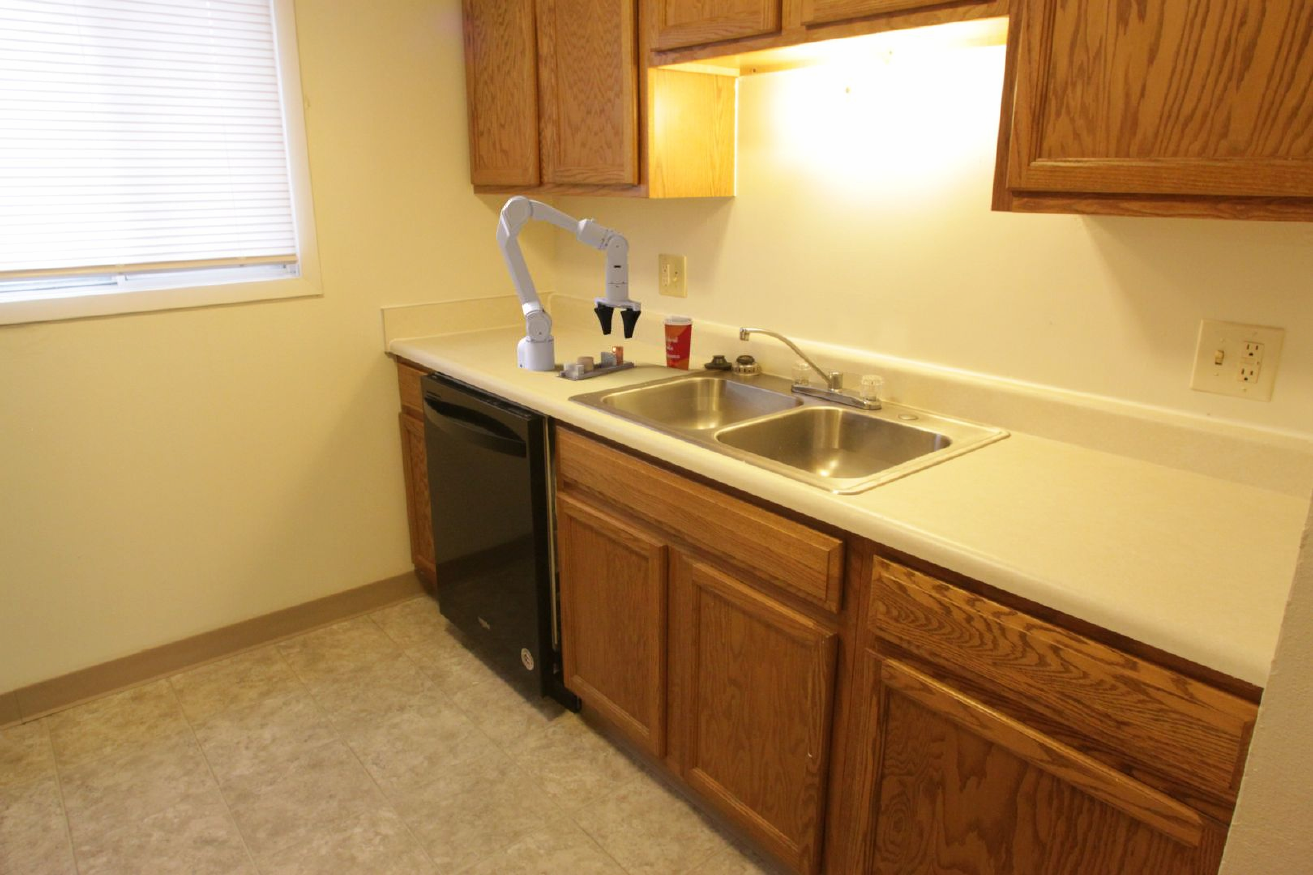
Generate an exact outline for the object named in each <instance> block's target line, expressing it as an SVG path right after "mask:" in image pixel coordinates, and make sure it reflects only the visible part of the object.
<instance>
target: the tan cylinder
mask: <svg viewBox="0 0 1313 875" xmlns="http://www.w3.org/2000/svg"><path fill="white" fill-rule="evenodd" d="M594 359H595V357H592V356H579V357H577V363H576V364H579V365H584V373H588V372H593V371H594V364H595V360H594Z"/></svg>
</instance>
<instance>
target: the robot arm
mask: <svg viewBox="0 0 1313 875" xmlns="http://www.w3.org/2000/svg"><path fill="white" fill-rule="evenodd" d="M531 217H532V221H533V222H535V221H547V222H549V223H551V224H552V225H553V224H554V225H555V226H558V227H560V228H562V229H564V230H567V231H569V232H572V233H574V235H575V238H576V240H577V241H579V242H580V243H582V244H585V245H587V246H590V247H592V248H593V249H595V250H597V251H605V252H606V263H605V297H602V296H601V297H600V296H599V297H594V306H596V307H594V308H593V311H594V313H595V315H596V316H597V318H598V320H599V322H600V326H601V330H602V333H603V336H606V335H607V336H608V335H611V334H612V328H613V327H612V325H613V324H612V321H613V315H614V310H615V308H616V309H622V310H620V311H619V314H620V316H621V319H622V325H623V337H624V339H626V340H627V339H628V340H629V339H632V338H633V335H634V332H635V327H636V325H637V322H638V320H639V318H640V316H641V314H642V302H641V301H640V302H639V301H635V300H631V298H630V297H629V263H628V262H629V261H628V260H629V256H628V254H629V251H630V245H629V240H628V239H627V238H626V237H625V236H624V235H623V234H621V233H620V232H619V231H618V232H617V231H615V229H614V228H613V227H610V228H608V227H606V226H603V225H601V224H600V223H597V219H595V218H591V219H589V218H584V219H582V220H578V219H576V218H574V217H572V216H570V215H568V214H566V213H564V212H562V211H561V210H558V209H556V208H554V207H552V206H550V205H549V204H547V203H544V202H541V201H538V200H534V199H529V198H527V197H525V196H523V195H517V196H513V197H511V198H510V199H508V201H506V203H505V205H504V206H503V208H502V210H500V216H499V220H498V221H499V222H498V224H497V225H498V226H497V229H496V230H497V231H496V234H495V238H496V242H497V244H498V247H499V249H500V253H501V255H502V258H503V260H504V263H505V265H506V268H507V270H508V273H509V276H510V278H511V281H512V284H513V286H514V288H515V291H516V295H517V296H518V300H519V301H520V305H521V308H522V311H523V316H524V318H525V322H526V323H525V332H526V334H527V335H526V336H525V337H523V338H522V339H520V340H519V341H518V344H517V347H516V348H517V349H516V350H517V351H516V353H517V354H516V355H517V367H518V368H521V369H525V370H527V371H531V372H548V371H553V370H554V369H556V366H555V365H556V362H555V359H556V358H555V336H553V335H552V334H551V333H552V327H553V319H552V317H551V315H550V314H549V313H548V312H547V311H546V310H545V308H544V306H543V304H542V301H541V300H540V297H539V294H538V292H537V290H536V287H535V285H534V282H533V279H532V277H531V273H530V271H529V268H528V265H527V263H526V262H527V261H526V259H525V258H524V254H523V252H522V250H521V246H520V244H519V241H518V239H517V238H518V237H519V234H520V232H521V230H522V227H523V226H524V225H525V224H526V223H527V222H528V221H529V219H530V218H531Z"/></svg>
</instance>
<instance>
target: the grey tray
mask: <svg viewBox="0 0 1313 875" xmlns="http://www.w3.org/2000/svg"><path fill="white" fill-rule="evenodd" d="M637 367H638V366H637V365H635V363H634V362H632V363H628V364H624V365H619V366H615V367H610V368H601V362H599V363H594V371H593V372H588V373H584V365H579V364H577V363H574V362H567V363H566V362H565V363H563V370H561V371H558V375H555V378H559V379H560V378H561V379H564V380H567V381H568V380H569V381H573V382H577V381H581V380H586V379H589V378H594V377H598V376H603V375H607V374H613V373H615V372H620V371H624V370H628V369H629V370H630V369H633V368H637Z"/></svg>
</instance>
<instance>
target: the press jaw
mask: <svg viewBox="0 0 1313 875" xmlns="http://www.w3.org/2000/svg"><path fill="white" fill-rule="evenodd" d="M611 351H612V352H609V351H604V350H603V351H601V352H600V363H601V368H610V367H615V366H619V365H624V364H628V363H633V361H630V360H626V359H625V360H624V346H622V345H614V346H612V350H611Z"/></svg>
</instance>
